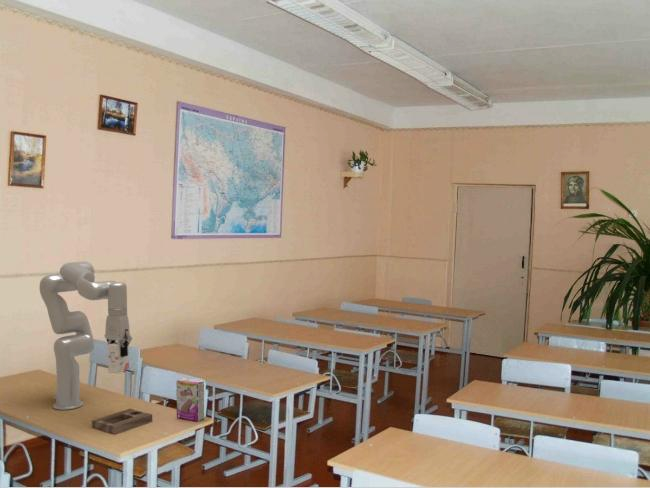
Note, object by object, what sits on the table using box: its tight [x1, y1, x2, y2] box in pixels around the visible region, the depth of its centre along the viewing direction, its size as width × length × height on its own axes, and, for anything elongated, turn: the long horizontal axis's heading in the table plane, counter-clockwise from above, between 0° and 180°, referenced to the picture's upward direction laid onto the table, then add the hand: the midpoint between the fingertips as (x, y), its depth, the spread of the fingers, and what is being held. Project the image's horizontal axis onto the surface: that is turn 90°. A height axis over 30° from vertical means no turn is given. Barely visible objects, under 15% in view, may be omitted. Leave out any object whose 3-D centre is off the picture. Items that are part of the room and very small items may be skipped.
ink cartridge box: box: [107, 338, 130, 374], centre depth 265 cm, size 9×5×15 cm, turn 168°
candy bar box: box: [176, 377, 205, 422], centre depth 270 cm, size 11×5×16 cm, turn 65°
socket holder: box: [91, 408, 153, 435], centre depth 263 cm, size 14×19×3 cm
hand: (118, 355), depth 265 cm, fingers closed on ink cartridge box, 6 cm apart
